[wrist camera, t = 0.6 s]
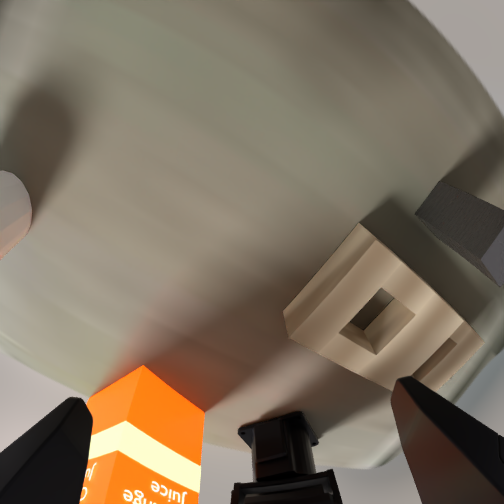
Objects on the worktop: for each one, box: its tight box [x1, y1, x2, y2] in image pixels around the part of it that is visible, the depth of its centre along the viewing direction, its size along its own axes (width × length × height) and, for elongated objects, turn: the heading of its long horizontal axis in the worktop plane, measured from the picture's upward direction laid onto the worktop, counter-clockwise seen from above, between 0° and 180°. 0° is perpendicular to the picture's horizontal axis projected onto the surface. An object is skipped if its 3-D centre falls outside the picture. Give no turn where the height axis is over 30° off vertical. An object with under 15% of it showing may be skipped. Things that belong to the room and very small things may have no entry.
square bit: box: [415, 181, 504, 287], centre depth 16 cm, size 3×3×8 cm
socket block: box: [283, 223, 485, 392], centre depth 22 cm, size 16×8×3 cm, turn 54°
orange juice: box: [80, 365, 205, 504], centre depth 17 cm, size 8×9×20 cm
